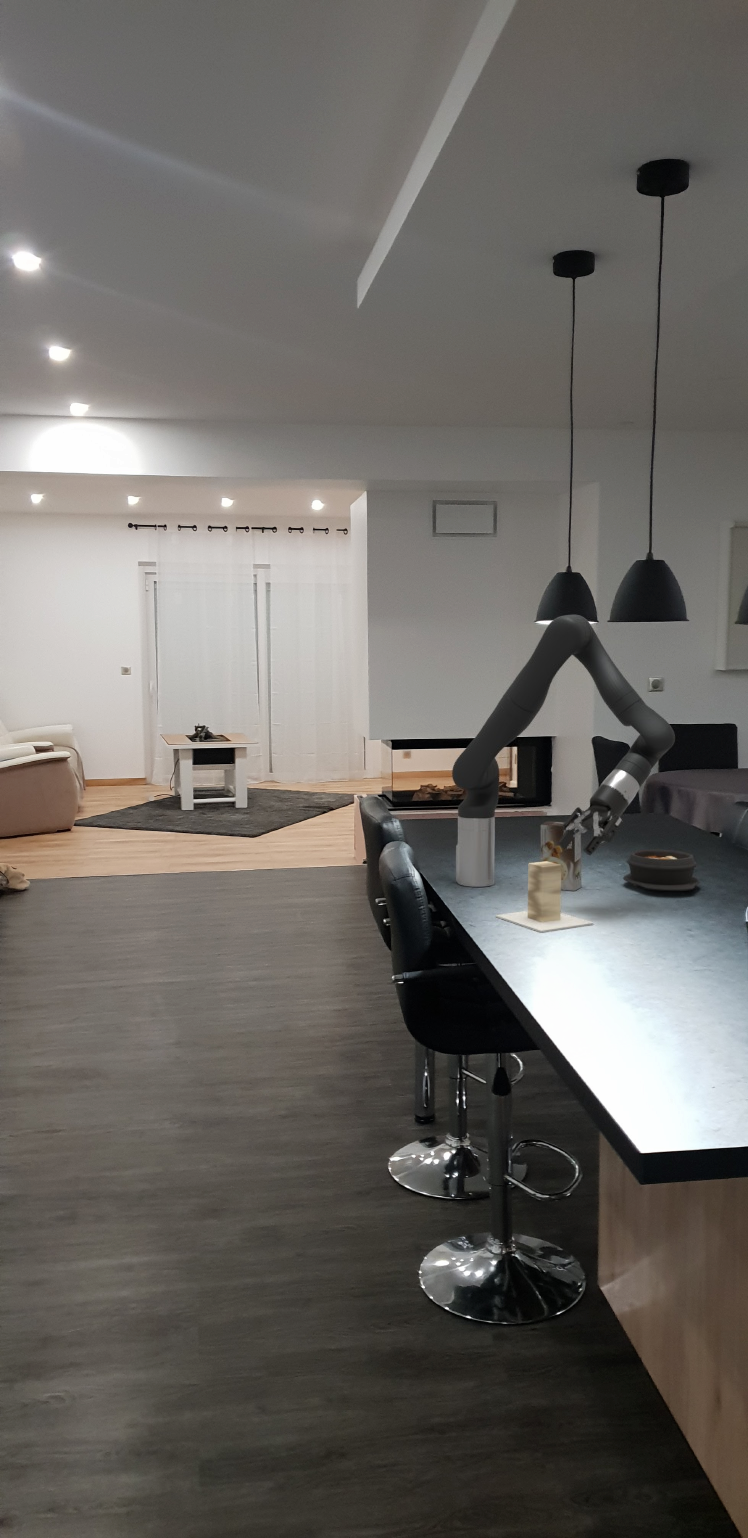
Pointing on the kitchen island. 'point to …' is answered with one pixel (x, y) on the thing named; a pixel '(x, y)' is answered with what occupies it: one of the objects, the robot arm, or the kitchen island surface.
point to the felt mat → (563, 923)
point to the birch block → (544, 891)
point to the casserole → (662, 870)
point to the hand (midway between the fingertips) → (573, 849)
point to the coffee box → (562, 854)
